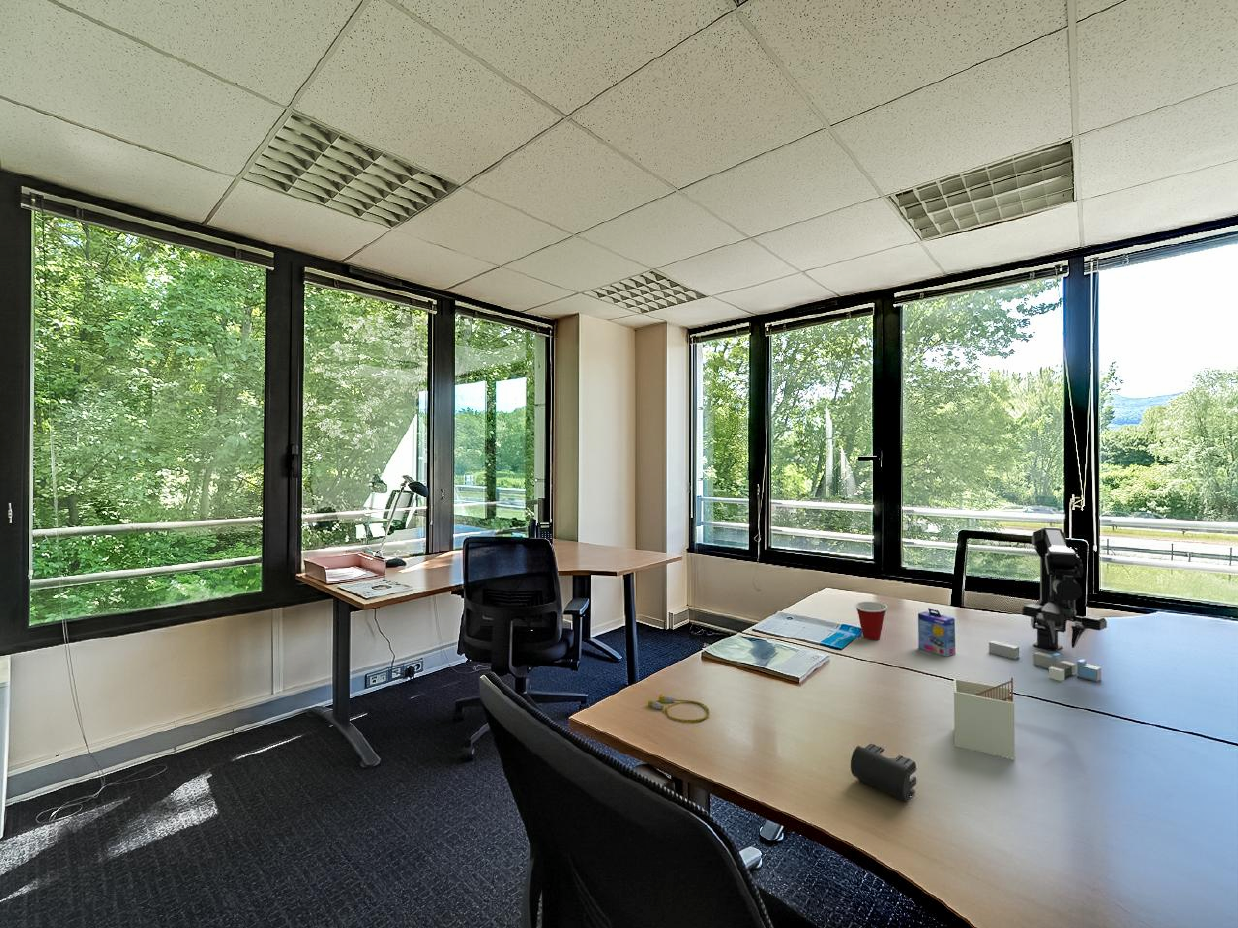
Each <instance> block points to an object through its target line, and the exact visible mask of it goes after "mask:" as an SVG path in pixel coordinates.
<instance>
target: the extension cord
mask: <svg viewBox="0 0 1238 928" xmlns="http://www.w3.org/2000/svg"><path fill="white" fill-rule="evenodd" d="M674 701H675V702H674ZM672 702H673V703H672ZM684 702H690V703H689V704H695V703H696V705H698V704H699V705H698V706H700V705H701V707H702V708H703V709H704V710H705V711H706V710H707V711H708V712H707V711H706V712H707V715H705V716H704V717H701V718H695V719H685V718H684V719H683V718H677V717H673V716H671V715H670V714H669V711H668V709H669V708H670V707H671V708H672V707H674V706H675V705H679V704H680V703H681V704H685V703H684ZM663 704H669V705H668V706H666V708H664V705H663ZM647 707H649V708H652V709H655V710H662V711H663V713H664V716H667V717H668V718H669V719H671V720H672V719H673V721H676V720H677V722H680V721H683V722H682V723H687V722H694V723H700V722H703V721H705V720H707V719H708V718H709V717H710V716H709V715H710V714H711V713H710V709H709V707H708V706H706V705H705V704H704V703H702V702H700V701H696V700H689V699H687V700H686V699H676V698H675V697H674V696H673V697H671V696H669V695H667V696H666V695H662V694H660V695H659V696H658V701H656V700H651V699H650V700H648V703H647ZM702 720H703V721H702ZM699 721H700V722H699Z"/></svg>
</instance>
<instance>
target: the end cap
mask: <svg viewBox="0 0 1238 928" xmlns="http://www.w3.org/2000/svg"><path fill="white" fill-rule="evenodd" d="M883 752H885V748H884V747H881V746H878V745H876V744H873V743H869V744H868V745H866V746H865V747H863V746H860V745H857V746H856V747H855V749H854V750H853V753H852V756H851V759H850V770H851V774H852V775H853V777H855V778H856V779H857V780H858V781H860V782H861V783H864V784H866V785H868V786H870V787H873V788H874V789H877V790H880V791H882V792H884V793H886V794H888V795H890V796H893V797H894V796H895V798H896V799H898V800H901V801H903V802H905V801H906V802H908V801H909V800H910V799H911V798H910V796H912V795H913V794H914V793H915V794H916V790H915V789H916V788H914V787H915V786H916V784H917V782H918V781H917V777H916V776H912V777H911V775H913V774H914V773H916V771H917V764H916V762H915V761H914V760H913V759H911V758H910V757H909V758H908V757H905V756H903V754H902V755H901V754H898V755H897V756H896V757H893V758H891V757H886V756H884V755H882V753H883ZM915 794H914V795H915ZM914 795H913V796H914ZM913 796H912V797H913ZM907 800H908V801H907Z"/></svg>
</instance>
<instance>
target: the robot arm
mask: <svg viewBox="0 0 1238 928" xmlns="http://www.w3.org/2000/svg"><path fill="white" fill-rule="evenodd" d="M1031 545H1032V546H1034V547H1033V549H1034V551H1035V552H1036V554H1037V555H1038V556H1039V571H1040V572H1039V597H1040V598H1039V599H1038V601H1036V603H1035V604H1033V603H1030V604H1026V605H1024V606H1023V607H1022V609H1021V614H1022V616H1025V617H1031V618H1030V625H1031V628H1032V629H1033V630H1036V642H1034V643H1032V646H1033V647H1036V648H1041V649H1046V650H1049V651H1054V652H1057V651H1059V650H1061V649H1063V648H1064V646H1063V645H1061V644H1059V633H1065V632H1066V631H1067V621H1069V622H1072V623H1073V622H1074V624H1073V625H1072V626H1071V627H1070V628H1071V631H1072V633H1071V643H1070V644H1071V648H1072V649H1075V648H1076V645H1077V644H1078V642H1079V640H1080V638H1081V637H1082V635H1083V633H1084V632H1085V631H1086V630H1089V629H1090V630H1094V631H1102V630H1105V629H1106V628H1108V621H1107V619H1106V618H1105V617H1103V616H1097V615H1093V614H1088V615H1085V616H1080V615H1077V614H1078V613H1077V612H1078V611H1077V610H1076V601H1077V600H1078V599H1080V598H1081V597H1082V595H1083V588H1082V586H1081V585H1080V584H1079V583H1078V582H1077V581H1076V578H1083V575H1084V573H1085V570H1084V566H1083V562H1082V559H1080V556H1079V555H1077V553H1076V551H1075V550H1074V549H1073V548H1070V547H1068V546H1067V539H1066V532H1064V531H1063V529H1062V527H1061V528H1060V527H1058V526H1057V527H1054V526H1044V527H1043V526H1042V527H1041V529H1038V530H1035V531H1033V532H1032V536H1031Z"/></svg>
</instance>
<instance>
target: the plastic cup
mask: <svg viewBox="0 0 1238 928" xmlns="http://www.w3.org/2000/svg"><path fill="white" fill-rule="evenodd" d="M854 607H855V609H856V611H857V615H858V620H859V625H860V629H861V634H862V638H864V639H866V640H871V641H878V640H880V639H881V637H882V631H883V625H884V620H885V614H886V610H888V606H887V605H886V604H883V603H881V602H875V601H860V602H857V603H855V604H854Z"/></svg>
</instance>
